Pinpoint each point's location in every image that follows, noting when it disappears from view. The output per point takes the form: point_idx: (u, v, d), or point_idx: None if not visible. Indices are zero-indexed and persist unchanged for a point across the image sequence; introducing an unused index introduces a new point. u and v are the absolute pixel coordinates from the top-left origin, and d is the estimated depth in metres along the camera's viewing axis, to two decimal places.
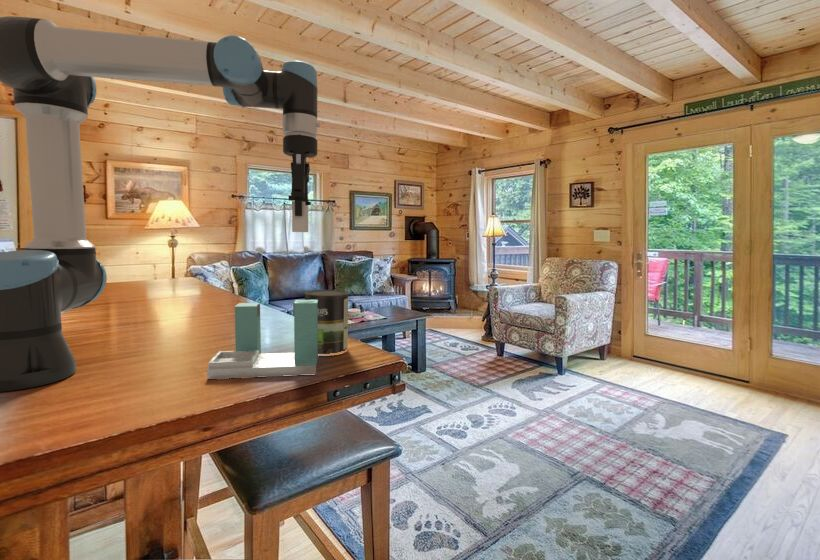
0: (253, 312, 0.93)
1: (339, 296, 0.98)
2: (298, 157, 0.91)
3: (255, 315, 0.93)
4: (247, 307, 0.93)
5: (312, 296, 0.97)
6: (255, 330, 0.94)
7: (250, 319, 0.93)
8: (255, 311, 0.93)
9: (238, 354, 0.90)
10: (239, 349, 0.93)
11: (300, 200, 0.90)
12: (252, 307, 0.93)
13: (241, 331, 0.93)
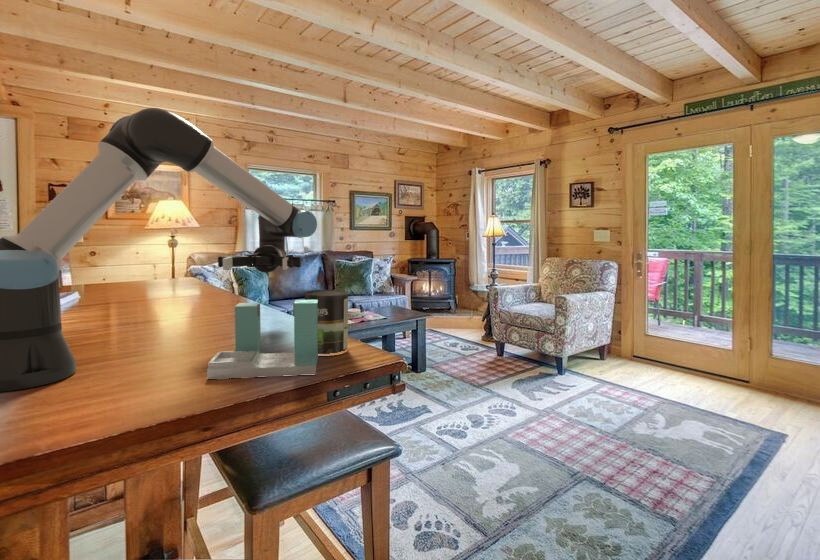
0: (253, 312, 0.93)
1: (339, 296, 0.98)
2: None
3: (255, 315, 0.93)
4: (247, 307, 0.93)
5: (312, 296, 0.97)
6: (255, 330, 0.94)
7: (250, 319, 0.93)
8: (255, 311, 0.93)
9: (238, 354, 0.90)
10: (239, 349, 0.93)
11: (293, 264, 1.11)
12: (252, 307, 0.93)
13: (241, 331, 0.93)
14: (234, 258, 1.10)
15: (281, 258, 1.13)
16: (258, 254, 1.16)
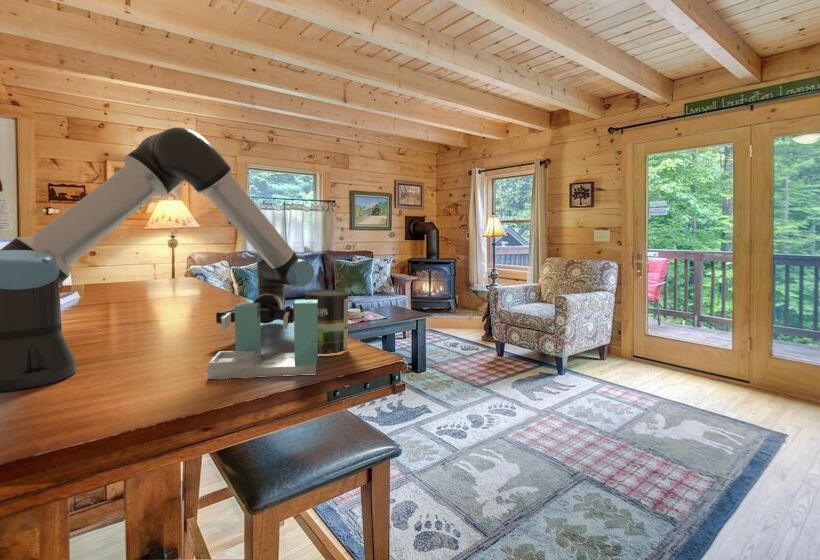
0: (253, 312, 0.93)
1: (339, 296, 0.98)
2: None
3: (255, 315, 0.93)
4: (247, 307, 0.93)
5: (312, 296, 0.97)
6: (255, 330, 0.94)
7: (250, 319, 0.93)
8: (255, 311, 0.93)
9: (238, 354, 0.90)
10: (239, 349, 0.93)
11: None
12: (252, 307, 0.93)
13: (241, 331, 0.93)
14: (233, 313, 1.06)
15: (281, 312, 1.10)
16: None
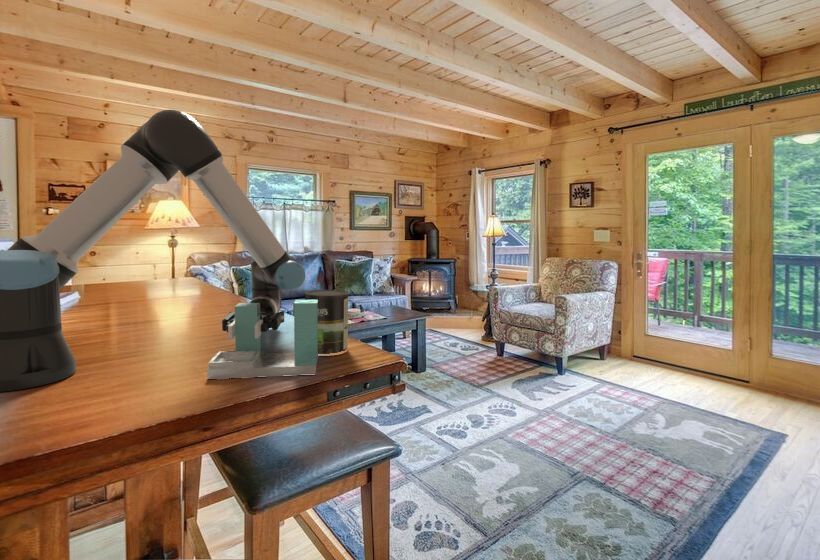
0: (253, 312, 0.93)
1: (339, 296, 0.98)
2: (283, 317, 1.07)
3: (255, 315, 0.93)
4: (247, 307, 0.93)
5: (312, 296, 0.97)
6: None
7: (250, 319, 0.93)
8: (255, 311, 0.93)
9: (238, 354, 0.90)
10: (239, 349, 0.93)
11: (269, 327, 0.97)
12: (252, 307, 0.93)
13: (241, 331, 0.93)
14: None
15: (261, 318, 1.00)
16: None
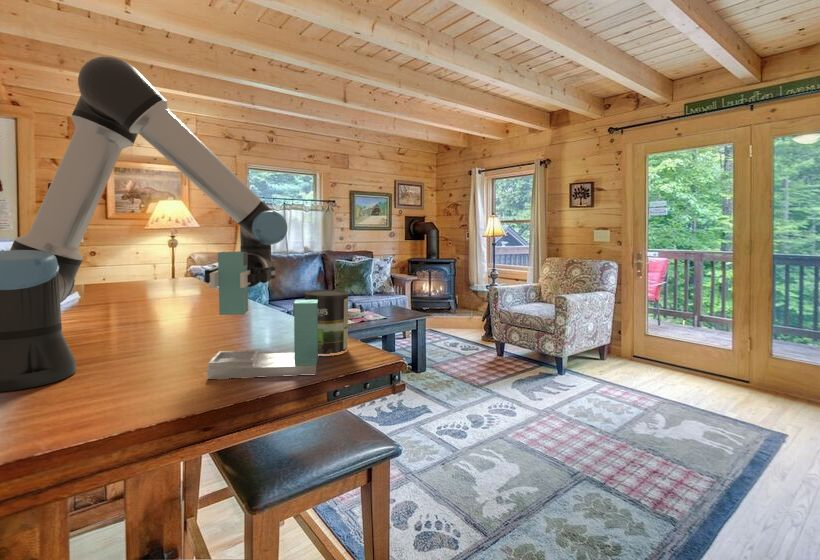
0: (239, 259, 0.83)
1: (339, 296, 0.98)
2: (274, 272, 0.97)
3: (241, 263, 0.83)
4: (232, 254, 0.83)
5: (312, 296, 0.97)
6: None
7: (235, 267, 0.83)
8: (241, 258, 0.83)
9: (238, 354, 0.90)
10: (223, 301, 0.83)
11: (257, 279, 0.87)
12: (238, 253, 0.83)
13: (226, 281, 0.83)
14: None
15: None
16: None
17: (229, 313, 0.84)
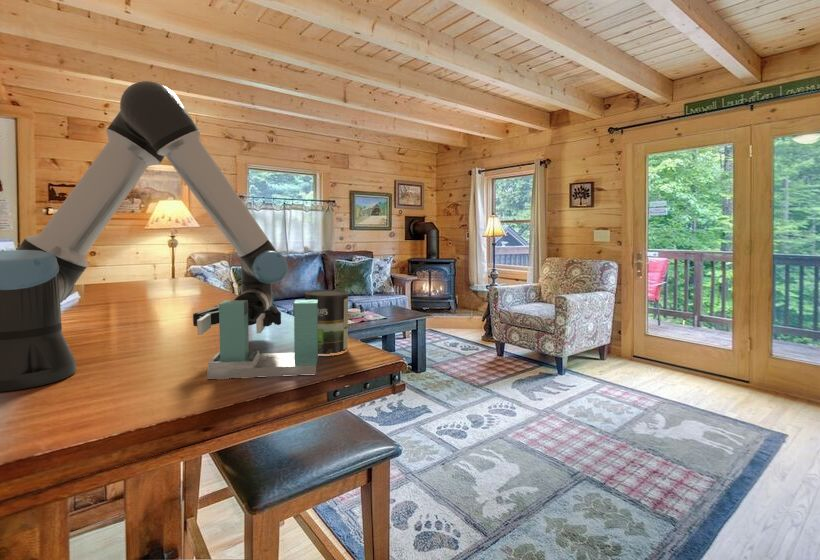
0: (239, 310, 0.84)
1: (339, 296, 0.98)
2: None
3: (242, 313, 0.84)
4: (233, 305, 0.83)
5: (312, 296, 0.97)
6: (242, 330, 0.84)
7: (236, 318, 0.84)
8: (242, 309, 0.84)
9: None
10: (224, 351, 0.84)
11: (272, 321, 0.90)
12: (238, 304, 0.84)
13: (227, 331, 0.84)
14: (213, 314, 0.89)
15: (259, 313, 0.92)
16: None
17: None
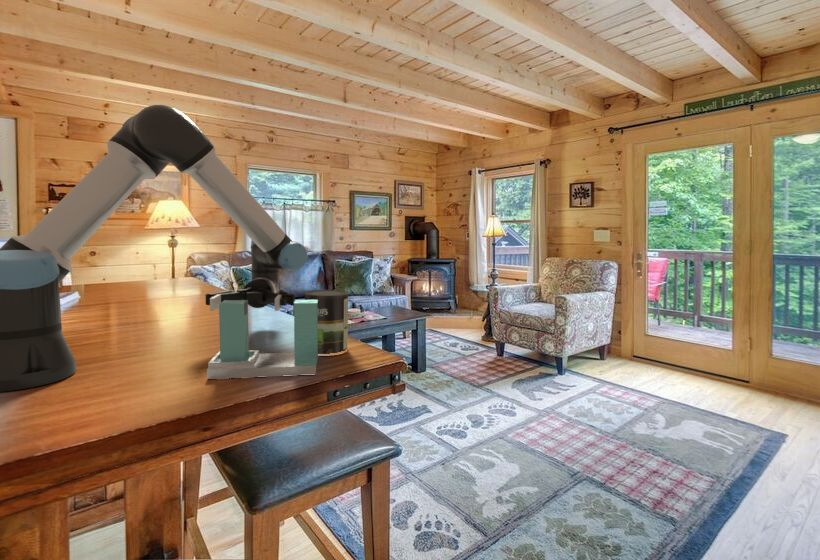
0: (239, 310, 0.84)
1: (339, 296, 0.98)
2: None
3: (242, 313, 0.84)
4: (233, 305, 0.83)
5: (312, 296, 0.97)
6: (242, 330, 0.84)
7: (236, 318, 0.84)
8: (242, 309, 0.84)
9: None
10: (224, 351, 0.84)
11: (287, 302, 1.04)
12: (238, 304, 0.84)
13: (227, 331, 0.84)
14: (223, 295, 1.02)
15: (274, 295, 1.06)
16: (249, 289, 1.09)
17: None
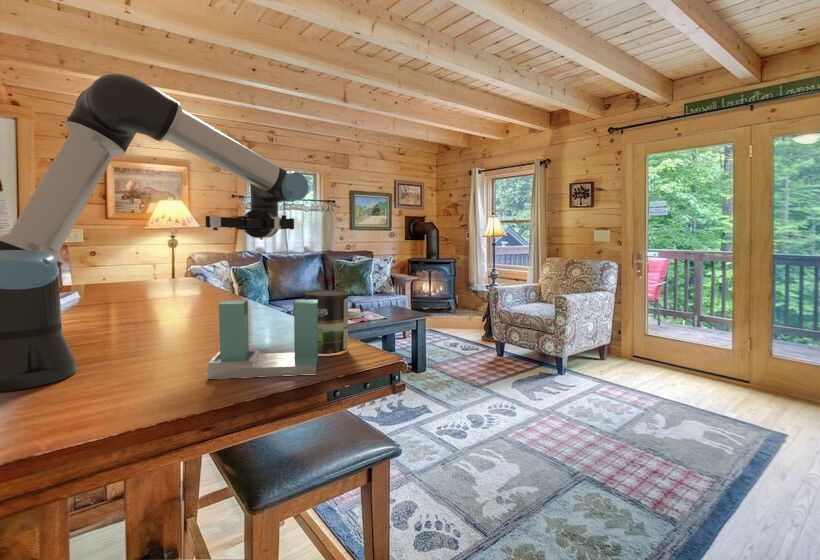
0: (239, 310, 0.84)
1: (339, 296, 0.98)
2: None
3: (242, 313, 0.84)
4: (233, 305, 0.83)
5: (312, 296, 0.97)
6: (242, 330, 0.84)
7: (236, 318, 0.84)
8: (242, 309, 0.84)
9: None
10: (224, 351, 0.84)
11: (286, 225, 1.04)
12: (238, 304, 0.84)
13: (227, 331, 0.84)
14: (223, 218, 1.03)
15: (273, 220, 1.06)
16: (249, 216, 1.09)
17: None
